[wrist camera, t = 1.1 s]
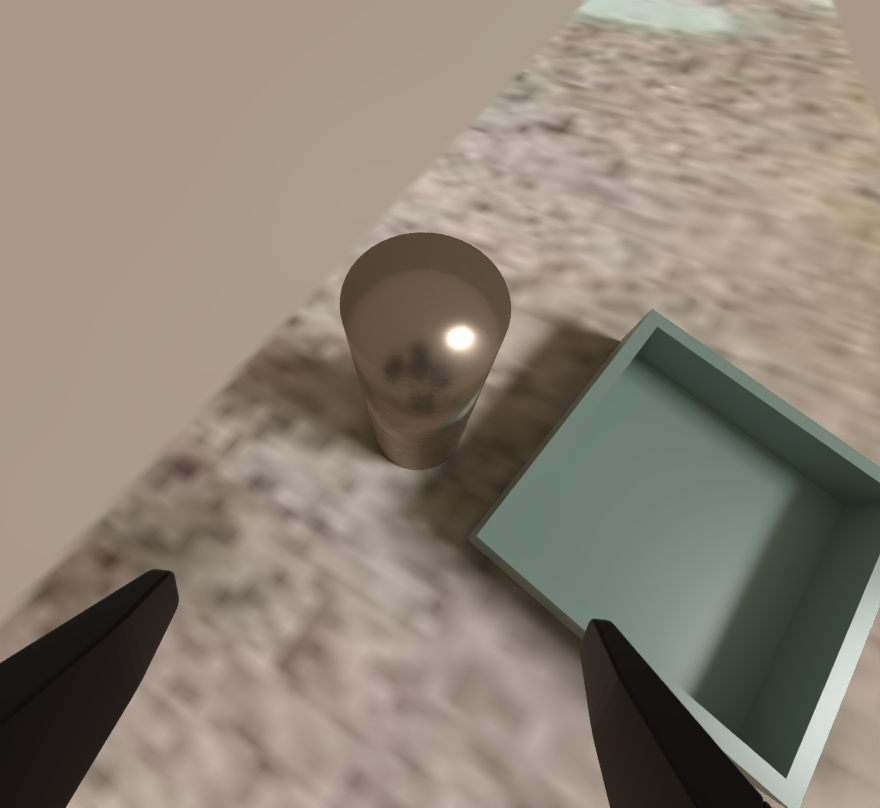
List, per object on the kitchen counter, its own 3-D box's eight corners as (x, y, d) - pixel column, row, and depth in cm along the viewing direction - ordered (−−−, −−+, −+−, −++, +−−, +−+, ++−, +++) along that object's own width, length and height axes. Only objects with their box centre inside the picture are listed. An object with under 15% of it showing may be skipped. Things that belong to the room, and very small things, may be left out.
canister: (422, 488, 24) (436, 416, 11) (356, 431, 24) (302, 306, 12) (478, 423, 25) (543, 297, 13) (414, 371, 26) (418, 205, 14)
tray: (727, 768, 20) (796, 814, 17) (465, 538, 23) (476, 535, 19) (849, 505, 25) (923, 497, 21) (620, 340, 27) (652, 308, 24)
